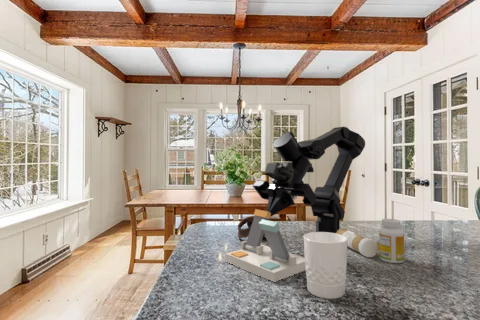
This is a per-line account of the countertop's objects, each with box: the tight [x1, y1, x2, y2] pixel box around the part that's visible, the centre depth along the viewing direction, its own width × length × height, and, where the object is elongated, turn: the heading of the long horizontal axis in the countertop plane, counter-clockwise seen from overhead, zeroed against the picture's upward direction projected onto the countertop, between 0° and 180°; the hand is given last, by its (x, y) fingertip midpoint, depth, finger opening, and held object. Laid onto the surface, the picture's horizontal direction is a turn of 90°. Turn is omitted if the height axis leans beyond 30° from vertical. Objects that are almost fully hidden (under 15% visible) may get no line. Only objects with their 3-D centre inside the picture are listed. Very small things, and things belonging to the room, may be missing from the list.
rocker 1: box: [245, 208, 271, 252], centre depth 71 cm, size 1×4×10 cm, turn 40°
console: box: [224, 240, 306, 283], centre depth 66 cm, size 12×16×4 cm
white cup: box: [303, 231, 348, 300], centre depth 52 cm, size 8×8×10 cm
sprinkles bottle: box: [336, 227, 379, 258], centre depth 77 cm, size 5×5×13 cm
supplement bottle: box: [378, 218, 405, 264], centre depth 69 cm, size 5×5×10 cm
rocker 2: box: [259, 219, 290, 263], centre depth 61 cm, size 1×4×10 cm, turn 41°
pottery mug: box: [237, 215, 266, 240], centre depth 89 cm, size 12×10×8 cm
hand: (267, 215), depth 73 cm, fingers closed
